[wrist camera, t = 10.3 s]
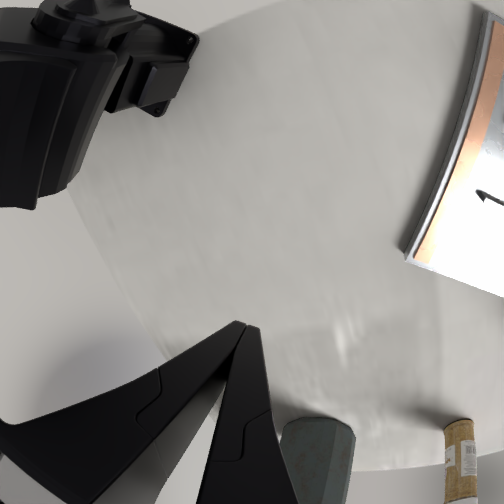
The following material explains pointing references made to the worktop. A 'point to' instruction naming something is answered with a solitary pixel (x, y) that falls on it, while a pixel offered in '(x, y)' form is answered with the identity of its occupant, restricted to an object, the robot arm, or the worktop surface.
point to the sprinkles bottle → (460, 463)
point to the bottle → (318, 459)
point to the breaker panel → (471, 180)
